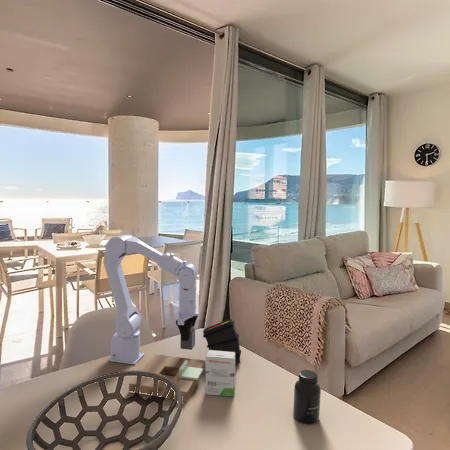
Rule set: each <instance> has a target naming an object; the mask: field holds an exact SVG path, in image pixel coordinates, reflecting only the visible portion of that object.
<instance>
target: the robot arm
mask: <svg viewBox="0 0 450 450" xmlns="http://www.w3.org/2000/svg"><path fill="white" fill-rule="evenodd" d="M104 248H105V252H104V255H103V266H104V269H105V274H106V276H107V280H108V283H109V288H110V291H111V294H112V297H113V300H114V304H115V309H116V313H115V318H114V319H115V329H114V330H115V332H114V334H113V335H112V338H111V341H110V359H109V361H110V362H113V363H119V364H128V365H136V364H137V363H138V362H139V361H140V359H141V358H143V356H145V352H141V337H140V336H141V332H140V327H141V325H142V324H143V318H142V316H141V313H140V312H139V310H138V308H137V307H136V306H135V305H133V303H132V299H131V295H130V292H129V288H128V285H127V281H126V278H125V274H124V271H123V267H122V263H121V262H123V260H124V258H125V257H126V255H127V254H139V255H141V256H143V257H146V258H147V259H150V260H151V261H153V262H156V263H158V264H157V265H158V267H159V268H160V269H161V270H163V271H165V272H166V273H169V274H171V275H172V276H174V277H176V278H177V279H178V281H179V289H178V291H179V293H178V296H179V297H178V302H179V303H178V313H177V314H178V317H177V319H176V320H175V326H177V328H178V330H179V331H178V332H179V334H180V340H181V339H182V341H188V339H189V334H190V329H191V326H194V327H195V326H196V321H197V319H198V318H199V315H200V312H199V311H197V279H196V278H197V275H198V273H199V272H198V271H199V270H198V268H197V266H196V265H195V264H193V263H192V262H187V260H182V259H180V258H178V257H176V256H175V253H173V252H172V253H169V252H167V253H164V254H163V253H162V252H160V251H158V249H155V248H154V247H152V246H150V245H148V244H147V243H146V242H143V241H142V240H140V239H139V238H138V237H136V236H133V235H131V234H129V233H123V234H121V235H118V236H117V235H116V236H113V237H111V238H109V239H108V241H107V242H106V243H105V245H104Z"/></svg>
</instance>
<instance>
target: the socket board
mask: <svg viewBox="0 0 450 450" xmlns="http://www.w3.org/2000/svg"><path fill="white" fill-rule="evenodd" d="M185 360H187V361H188V367H195V368H202V369H203V371H202V373H201V375H200V377H199V379H198V380H192V379H185V378H179V368H180V367H181V366H182V364H183V363H184V361H185ZM140 371H146V372H152V373H156V374H161V375H163V376H165V377H167V378H169V379H170V380H172V381H173V382H175V384H176V385H177V386H178V387H179V389H180V391H181V393H182V396H183V401H182V402H186V403H188V401H189V399H190V398H191V396H192V394H193V392H194V391H195V389H196V386H197V385H198V383H199V381H200V379H201V377H202V376H203V374H204V372H205V371H206V359H205V360H203V359H195V358H187V357H180V356H171V355H162V354H156V353H155V354H154V355H153V356H152V357H151V358H150V359H149V361H148V362H147V363H145V365H144V366H143V367H142V368H141V369H140ZM136 378H137V377H136V375H135V376H134V377H133V378H132V379H131V381H129V383H128V392H129V391H133V392H134V391H135V387H136ZM153 384H154V382H153V379H152V378H147V377H142V380H141V387H140V392H141V393H147V394H150V395H151V394H152V392H153ZM165 389H166V384H165V383H164V382H162V381H159V382H158V392H157V393H158V396H161V395H162V394H163V392H164V390H165ZM173 398H174V391H173V390H172V389H170V392H169V394H168V396H167V398H166V399H167V400H171V399H173ZM166 399H165V400H166Z"/></svg>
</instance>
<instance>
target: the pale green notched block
mask: <svg viewBox="0 0 450 450" xmlns="http://www.w3.org/2000/svg"><path fill="white" fill-rule="evenodd" d="M202 371H203V369H202V368H195V367H188V361H187V360H185V361H184V363H183V364H182V366H181V367H180V368H179V378H185V379H192V380H198V379H199V377H200V375H201V373H202ZM199 380H200V379H199Z"/></svg>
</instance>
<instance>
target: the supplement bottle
mask: <svg viewBox="0 0 450 450" xmlns="http://www.w3.org/2000/svg"><path fill="white" fill-rule="evenodd" d="M293 389H294V391H293V392H294V393H293V409H292V414H293V416H294V418H295V419H296V421H297V422H299V423H302V424H305V425H313V424H316V423H317V422H318V421H319V418H320V410H321V395H322V394H321V391H322V389H321V386H320V384H319V383H318V374H317V373H316V372H315V371H313V370H309V369H302V370H299V373H298V380H297V381H296V382H295V384H294V388H293Z"/></svg>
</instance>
